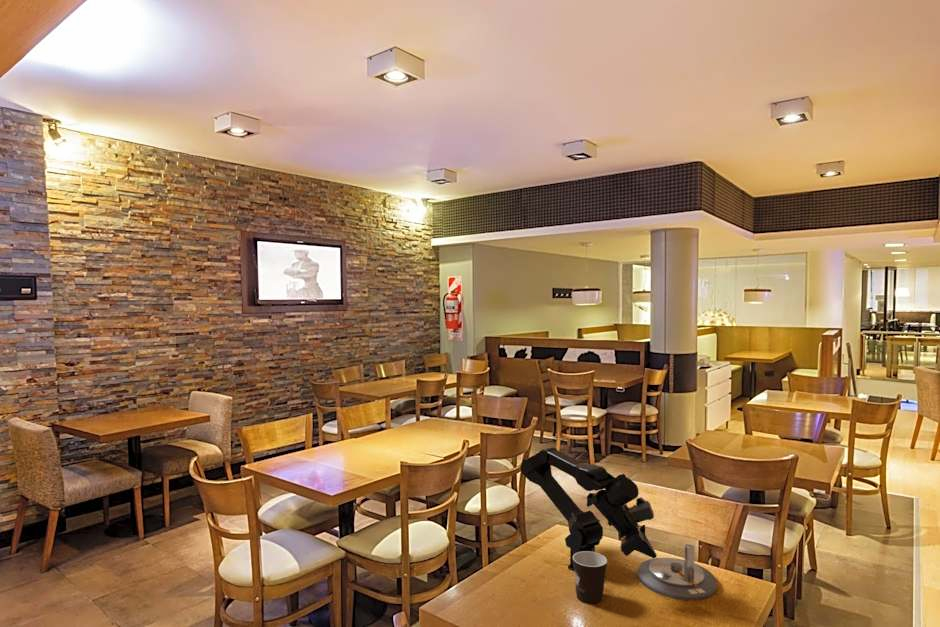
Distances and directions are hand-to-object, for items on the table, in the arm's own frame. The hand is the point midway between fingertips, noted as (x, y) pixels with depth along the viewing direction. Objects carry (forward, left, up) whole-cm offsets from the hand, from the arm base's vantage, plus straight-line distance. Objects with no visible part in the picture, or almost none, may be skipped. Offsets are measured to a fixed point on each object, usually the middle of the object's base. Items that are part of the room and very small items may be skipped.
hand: (655, 556), depth 148 cm
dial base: (+4, +7, -8) cm, 11 cm away
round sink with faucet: (+5, +6, -6) cm, 10 cm away
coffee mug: (-13, -13, -8) cm, 20 cm away
